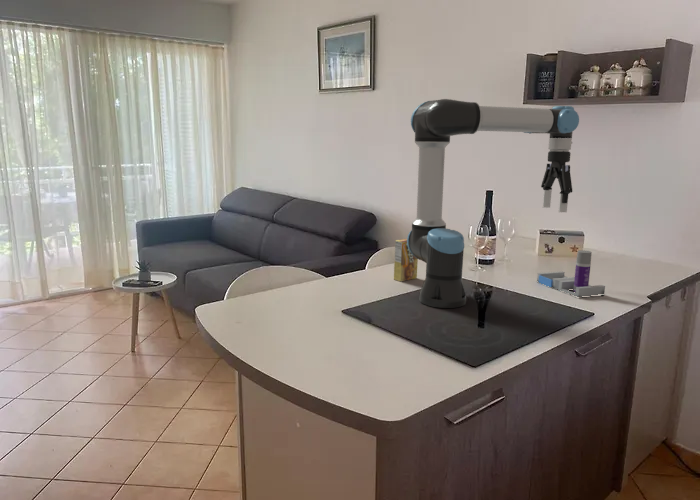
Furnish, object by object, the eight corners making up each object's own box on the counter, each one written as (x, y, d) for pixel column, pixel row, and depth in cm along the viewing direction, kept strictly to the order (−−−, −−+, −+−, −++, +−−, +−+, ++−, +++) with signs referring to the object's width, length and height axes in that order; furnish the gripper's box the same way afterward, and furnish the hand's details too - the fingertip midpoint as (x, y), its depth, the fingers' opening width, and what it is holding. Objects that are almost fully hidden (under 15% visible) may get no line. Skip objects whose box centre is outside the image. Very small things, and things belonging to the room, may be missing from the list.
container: (585, 295, 185) (590, 253, 182) (571, 293, 187) (575, 251, 184) (588, 293, 188) (593, 251, 185) (575, 290, 191) (579, 249, 188)
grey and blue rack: (576, 298, 181) (577, 288, 181) (535, 282, 202) (536, 273, 201) (604, 295, 185) (605, 286, 184) (561, 280, 205) (561, 271, 205)
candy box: (409, 276, 208) (411, 237, 205) (417, 278, 205) (419, 239, 202) (393, 279, 202) (394, 240, 199) (401, 282, 199) (402, 241, 196)
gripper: (587, 151, 179) (580, 214, 183) (554, 150, 203) (549, 205, 208) (565, 151, 179) (559, 214, 183) (535, 149, 203) (530, 205, 207)
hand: (554, 209), depth 195 cm, fingers open, 13 cm apart
